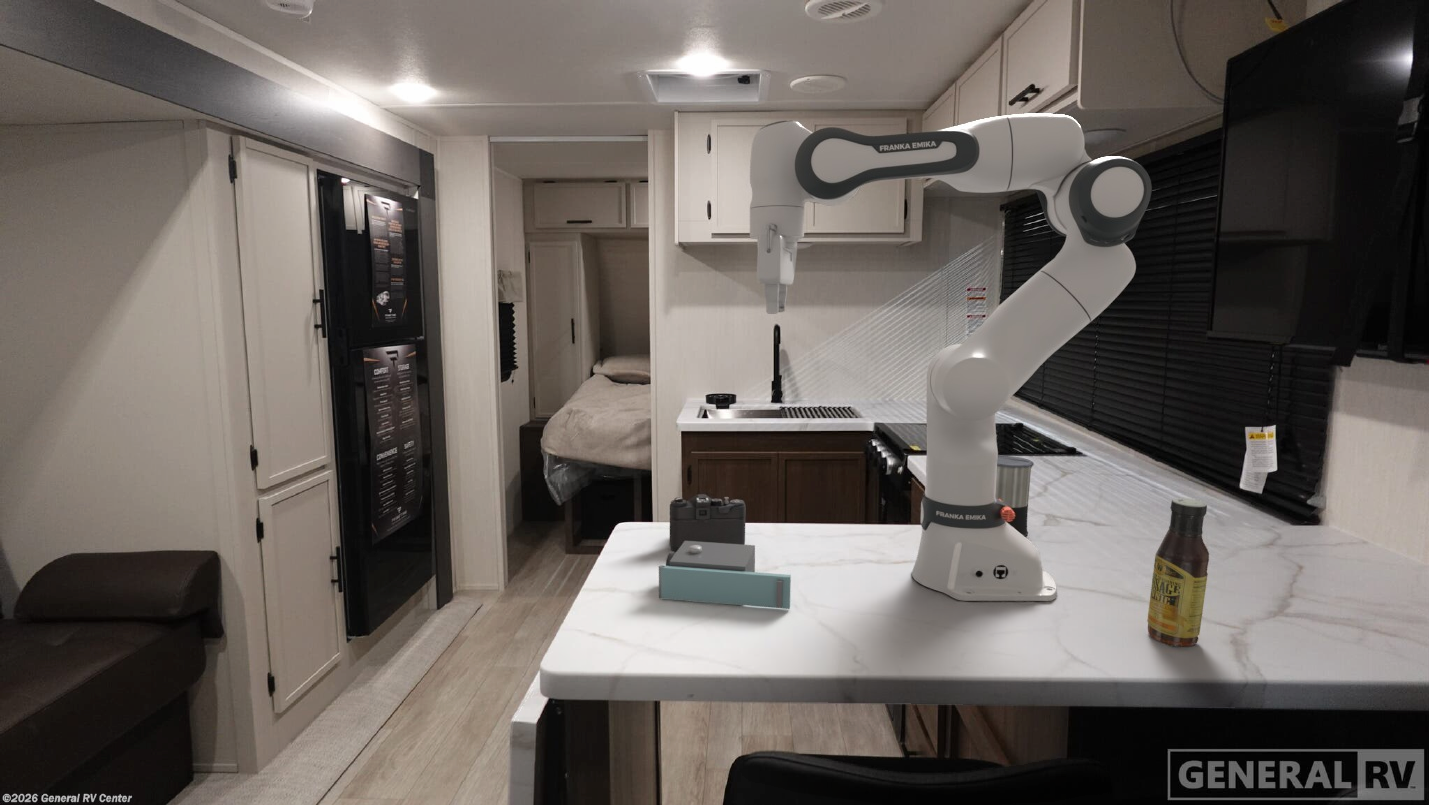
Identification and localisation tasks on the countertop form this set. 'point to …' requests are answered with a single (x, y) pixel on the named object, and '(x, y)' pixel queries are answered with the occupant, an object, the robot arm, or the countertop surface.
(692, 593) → the side door
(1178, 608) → the sauce bottle
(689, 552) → the camera housing
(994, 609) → the countertop surface
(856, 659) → the countertop surface
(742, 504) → the camera
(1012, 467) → the milk frother
